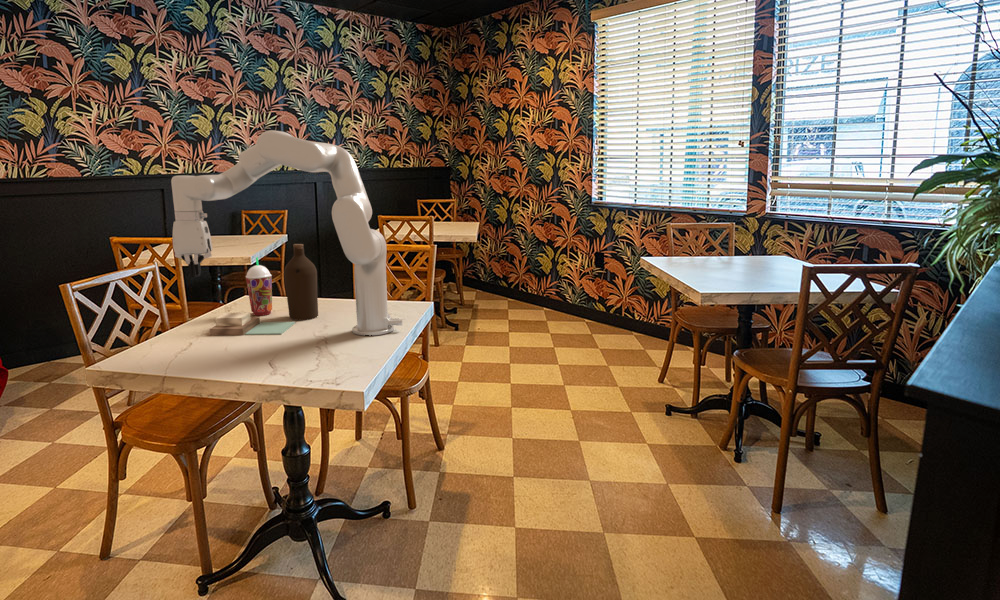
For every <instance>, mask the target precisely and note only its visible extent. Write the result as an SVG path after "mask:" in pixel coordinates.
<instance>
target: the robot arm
mask: <svg viewBox="0 0 1000 600" xmlns="http://www.w3.org/2000/svg"><path fill="white" fill-rule="evenodd" d="M255 143H256V144H254V145H252V146H250V147H248V148H246V149H245V150H243V151H242V152H240V153H239V155H238V161H237V163H236V164H235V165H233V166H232V167H230V168H229V169H227V170H225V171H223V172H221V173H219V174H202V175H174V176H172V177H171V181H170V183H171V190H172V191H171V192H172V201H173V208H174V209H173V210H174V219H175V221H173V226H172V248H173V252H174V257H175V258H177V259H182V260H183V261H184V262H185V264H187V267H188V274H189V277H190V278H197V277H200V276H201V273H202V267H201V266H202V265H201V263H202V262H203V261H204V260H205V259H209V258H211V257H212V255H213V254H212V251H213V242H212V237H211V233H210V229H209V225H208V222H207V220H204V219H205V218H208V213H204V211H203V204H202V203H203V202H202V201H206V202H211V201H218V200H219V201H220V200H226V199H229V198H231V197H233V196H234V195H237V194H238V193H241V192H242V191H244V190H246V189H248V188H249V187H250V186H251V185H253V184H254V183H255V182H257V181H258V180H259V179H260V178H262V177H263V176H265V175H267V174H268V173H270V172H272V171H273V170H275V169H278V168H279V167H281V166H285V167H289V168H292V169H296V170H299V171H302V172H303V171H304V172H308V173H324V172H325V173H329V175H330V177H331V184H332V186H333V189H334V190H333V191H334V192H335V195H336V200H335V201H334V203H333V205H332V208H331V218H332V222H333V226H334V228H335V231H336V234H337V237H338V240H339V242H340V245H341V249H342V250H343V253H344V255H345V257H346V258H347V260H348V261H350V262H351V263H352V264H354V268H353V269H354V270H353V271H354V272H353V273H354V276H353V277H354V293H355V309H356V325H354V326H353V327H352V329H351V330H352V333H353V334H354V335H358V336H365V335H369V337H370V336H371V335H372V336H380V335H382V336H383V335H386V334H388V333H391V332H393V331H394V328H395V327H394V326H403V319H401V318H398V317H397V318H393V317H391V314H390V313H389V312H388V311H389V310H388V309H389V308H388V290H387V289H388V287H387V252H388V251H387V248H388V247H387V242H386V239H385V237H384V235H383V234H382V233H381V232H379V231H378V230H376V229H373V228H371V227H370V224H369V222H370V220H371V219H372V215H373V209H372V205H371V202H370V200H369V197H368V194H367V191H366V188H365V185H364V183H363V180H362V177H361V174H360V171H359V168H358V165H357V163H356V161H355V160H354V159H355V158H353V156H352V155H351V153H349V151H348V150H347V149H345V148H343V147H341V146H340V145H336V144H334V143H333V144H332V143H328V142H320V141H319V142H318V141H312V140H311V141H310V140H307V139H302V138H299V137H296V136H293V135H292V134H290V133H288V132H286V131H281V130H273V129H272V130H271V129H270V130H266V131H264V132H263V133H261V134H260V135H259V136H258V138H257V139H256V142H255Z"/></svg>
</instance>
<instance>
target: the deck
mask: <svg viewBox="0 0 1000 600" xmlns="http://www.w3.org/2000/svg"><path fill="white" fill-rule="evenodd" d="M260 318H261V316H257V317H251V320H250V321H249V322H247V323H246V324H244V325H243V326H216V325H214V326H212V327H210V328H209V336H244V335H245V333H247V332H248V331H249V330H251V329H252V328H254V327H255V326H257V325H258V324H260V323H261V319H260Z"/></svg>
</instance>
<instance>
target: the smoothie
mask: <svg viewBox="0 0 1000 600" xmlns="http://www.w3.org/2000/svg"><path fill="white" fill-rule="evenodd" d="M255 262H256V263H255V264H256V265H253V266H251V267H250V268H249V269H248V271H247V273H246V275H245V280H246V286H247V287H246V288H247V291H248V298H249V299H248V300H249V304H250V310H251V312H252V314H253V316H257V317H263V316H268V315H270V314H271V313H272V311H273V292H272V290H273V287H272V286H273V285H272V284H273V282H272V280H273V279H272V276H273V275H272V274H271V272H270V271H269V269H268V268H267V267H266V266H265V265H262V264H259V257H258V256H256V257H255Z"/></svg>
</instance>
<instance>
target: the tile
mask: <svg viewBox="0 0 1000 600" xmlns="http://www.w3.org/2000/svg"><path fill="white" fill-rule="evenodd" d="M251 318H252V317H251V312H224V313H222V314H220V315H219V316H217V317H215V326H243V325H244V324H246V323H247V322H249V321H250V320H251Z"/></svg>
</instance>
